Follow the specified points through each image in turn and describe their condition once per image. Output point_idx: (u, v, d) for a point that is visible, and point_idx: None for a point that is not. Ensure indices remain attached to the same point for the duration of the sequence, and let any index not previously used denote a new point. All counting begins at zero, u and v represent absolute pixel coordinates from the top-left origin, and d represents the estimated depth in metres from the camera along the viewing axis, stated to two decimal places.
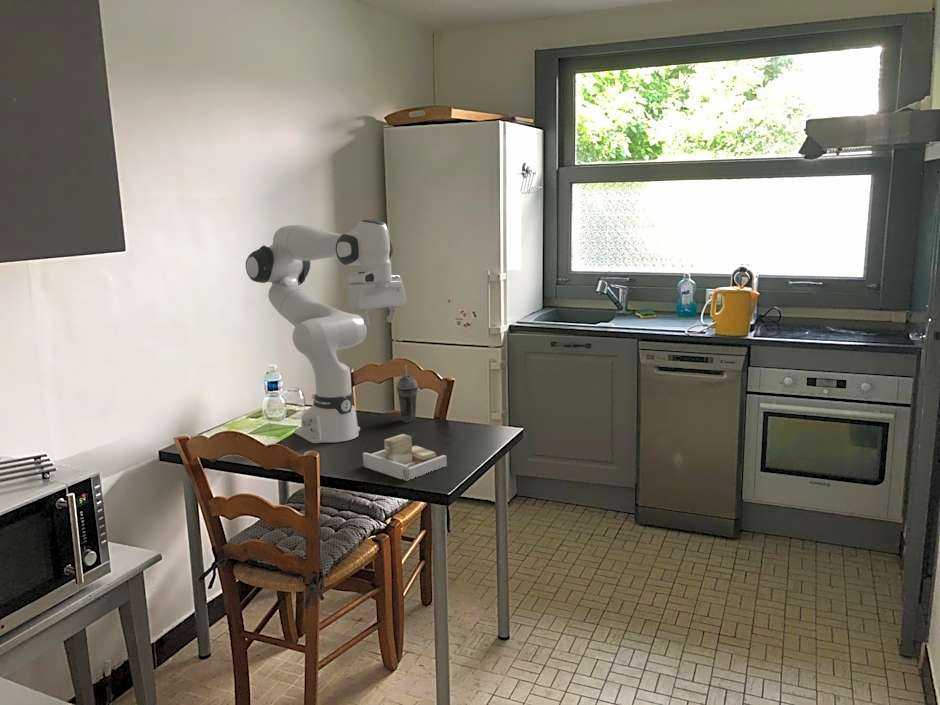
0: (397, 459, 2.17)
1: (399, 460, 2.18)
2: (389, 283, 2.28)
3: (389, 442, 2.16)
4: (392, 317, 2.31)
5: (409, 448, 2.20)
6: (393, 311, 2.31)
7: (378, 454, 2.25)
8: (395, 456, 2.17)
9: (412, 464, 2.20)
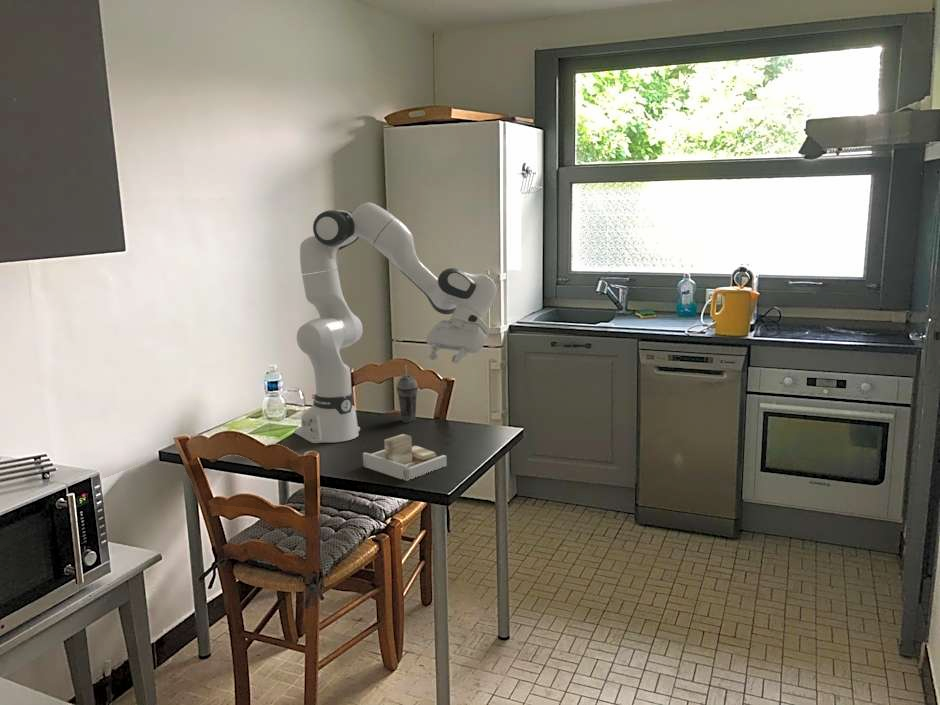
0: (397, 459, 2.17)
1: (399, 460, 2.18)
2: None
3: (389, 442, 2.16)
4: None
5: (409, 448, 2.20)
6: (435, 350, 2.34)
7: (378, 454, 2.25)
8: (395, 456, 2.17)
9: (412, 464, 2.20)
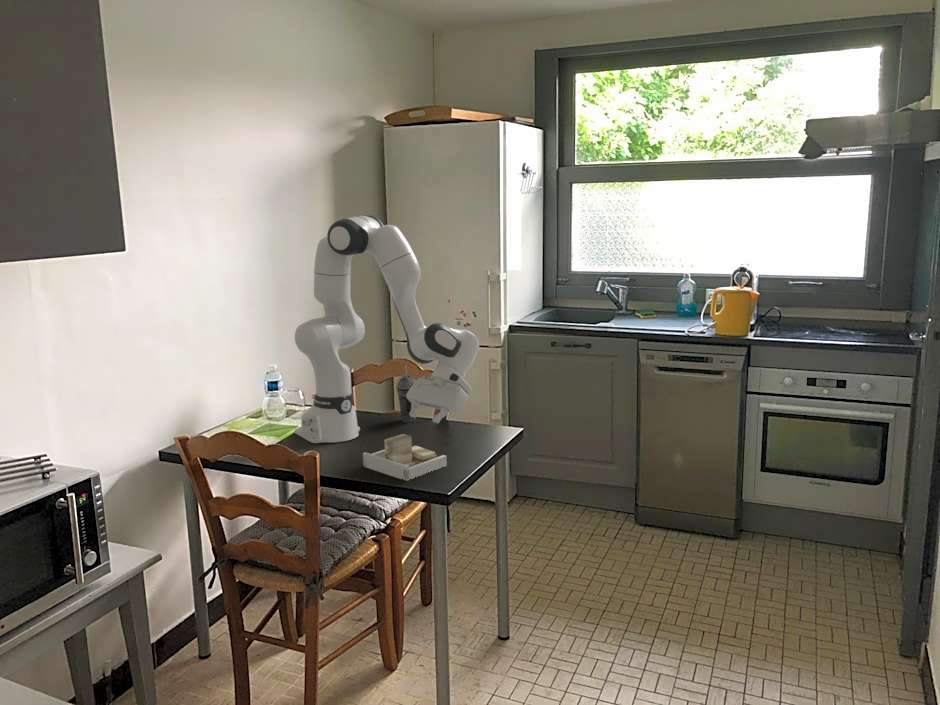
0: (397, 459, 2.17)
1: (399, 460, 2.18)
2: None
3: (389, 442, 2.16)
4: None
5: (409, 448, 2.20)
6: (416, 407, 2.31)
7: (378, 454, 2.25)
8: (395, 456, 2.17)
9: (412, 464, 2.20)
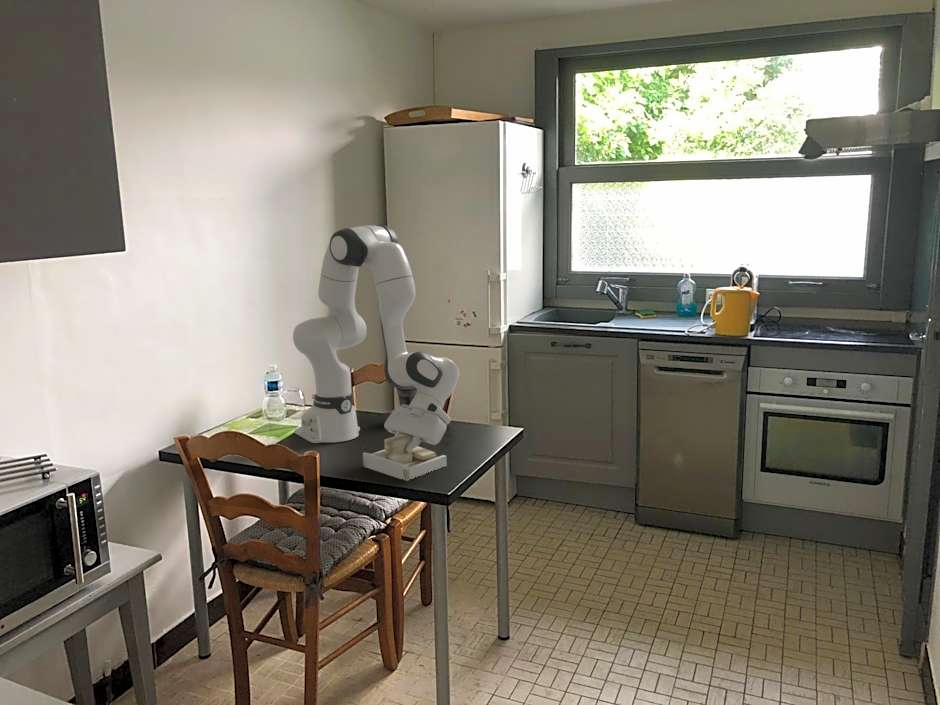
0: (397, 459, 2.17)
1: (399, 460, 2.18)
2: None
3: (389, 442, 2.16)
4: None
5: None
6: None
7: (378, 454, 2.25)
8: (395, 456, 2.17)
9: (412, 464, 2.20)
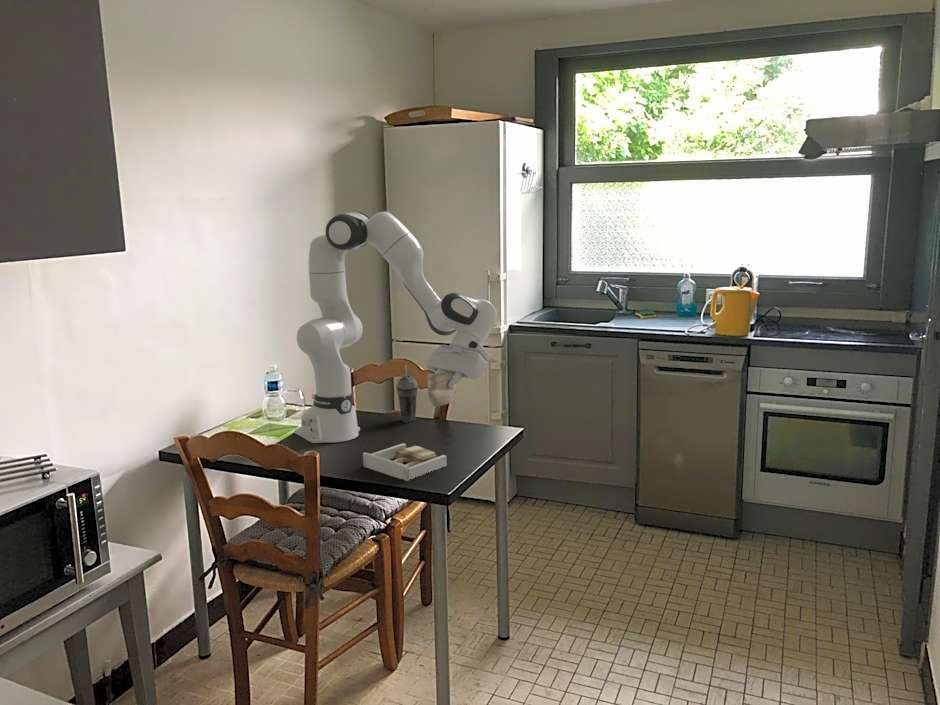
0: (440, 394, 2.27)
1: (441, 395, 2.27)
2: None
3: (432, 377, 2.26)
4: None
5: None
6: None
7: (378, 454, 2.25)
8: (438, 390, 2.26)
9: (412, 464, 2.20)
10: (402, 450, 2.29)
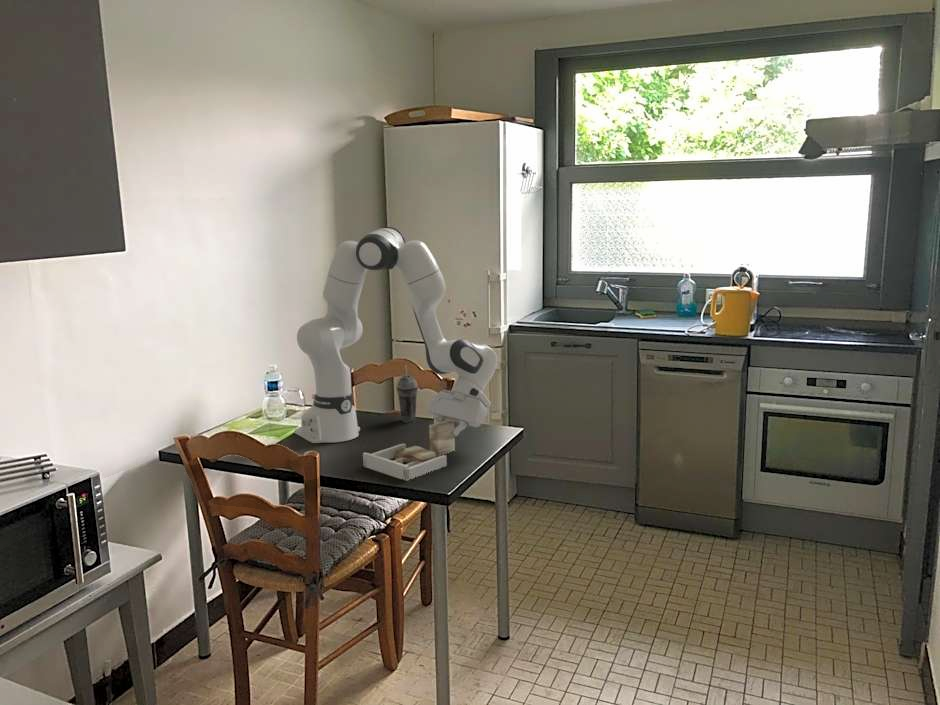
0: (441, 444, 2.30)
1: (443, 445, 2.31)
2: None
3: (434, 427, 2.29)
4: None
5: None
6: (438, 421, 2.37)
7: (378, 454, 2.25)
8: (439, 441, 2.29)
9: (412, 464, 2.20)
10: (402, 450, 2.29)
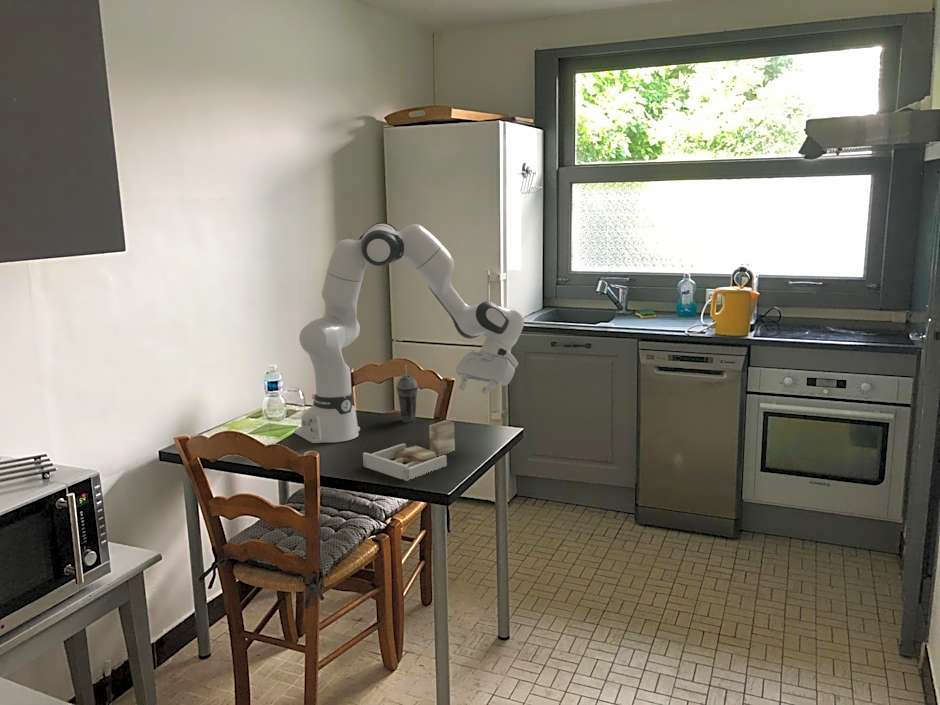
0: (441, 444, 2.30)
1: (443, 445, 2.31)
2: None
3: (434, 427, 2.29)
4: None
5: (452, 433, 2.33)
6: (465, 381, 2.45)
7: (378, 454, 2.25)
8: (439, 441, 2.29)
9: (412, 464, 2.20)
10: (402, 450, 2.29)
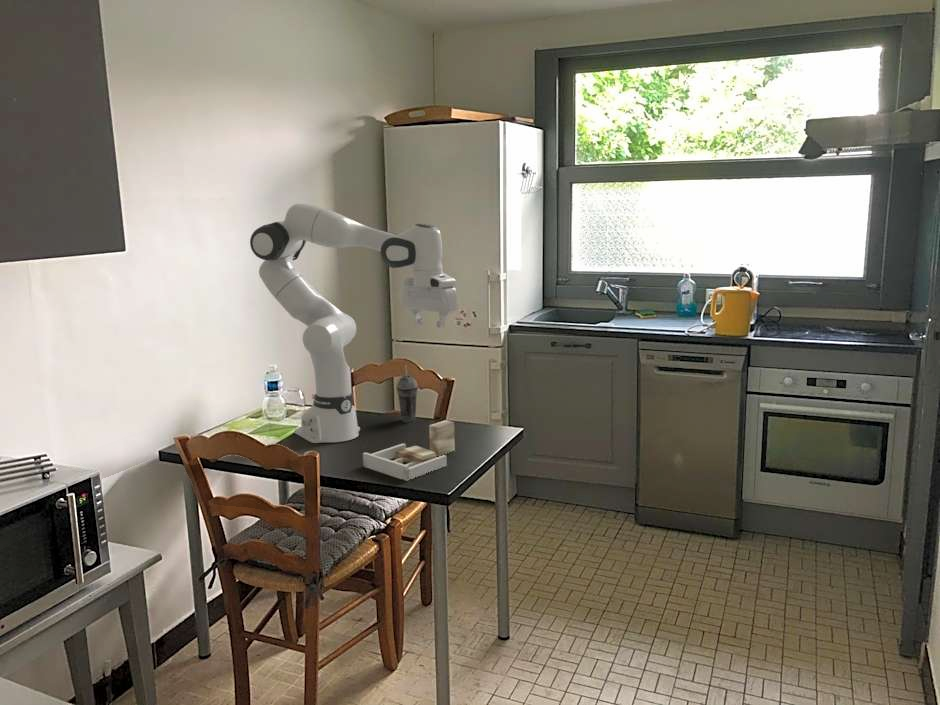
0: (441, 444, 2.30)
1: (443, 445, 2.31)
2: None
3: (434, 427, 2.29)
4: None
5: (452, 433, 2.33)
6: (417, 313, 2.38)
7: (378, 454, 2.25)
8: (439, 441, 2.29)
9: (412, 464, 2.20)
10: (402, 450, 2.29)
